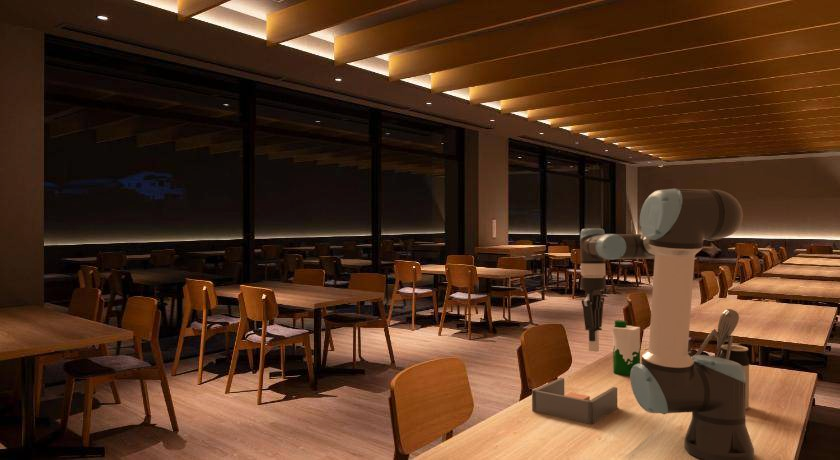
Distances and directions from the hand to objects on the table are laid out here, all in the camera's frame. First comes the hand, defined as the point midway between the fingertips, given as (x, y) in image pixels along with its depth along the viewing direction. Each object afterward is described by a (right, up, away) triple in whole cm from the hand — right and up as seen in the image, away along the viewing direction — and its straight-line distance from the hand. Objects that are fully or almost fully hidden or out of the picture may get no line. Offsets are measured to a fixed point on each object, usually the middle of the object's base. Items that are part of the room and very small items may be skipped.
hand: (593, 350), depth 178 cm
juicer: (+30, -15, -8) cm, 35 cm away
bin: (-9, -15, -10) cm, 20 cm away
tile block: (-9, -16, -10) cm, 20 cm away
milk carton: (+21, -16, +29) cm, 39 cm away
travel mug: (+40, -15, -8) cm, 44 cm away
